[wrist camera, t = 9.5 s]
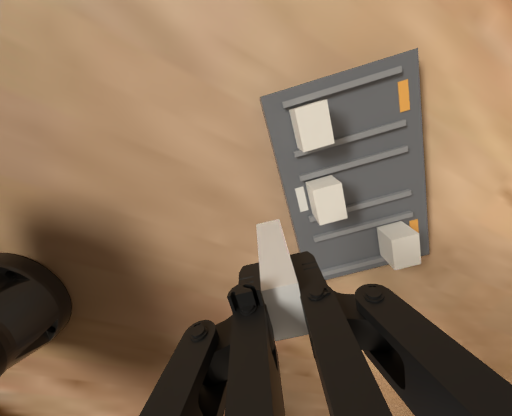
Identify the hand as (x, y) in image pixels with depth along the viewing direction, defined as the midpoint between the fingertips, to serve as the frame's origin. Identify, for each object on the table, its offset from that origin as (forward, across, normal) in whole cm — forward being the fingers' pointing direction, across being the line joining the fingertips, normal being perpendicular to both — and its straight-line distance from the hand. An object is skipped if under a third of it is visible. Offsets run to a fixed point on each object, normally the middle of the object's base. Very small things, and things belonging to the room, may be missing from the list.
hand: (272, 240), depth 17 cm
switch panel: (+16, +10, -2) cm, 19 cm away
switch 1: (+13, +6, +5) cm, 16 cm away
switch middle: (+13, +6, -3) cm, 15 cm away
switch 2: (+13, +14, -10) cm, 22 cm away
